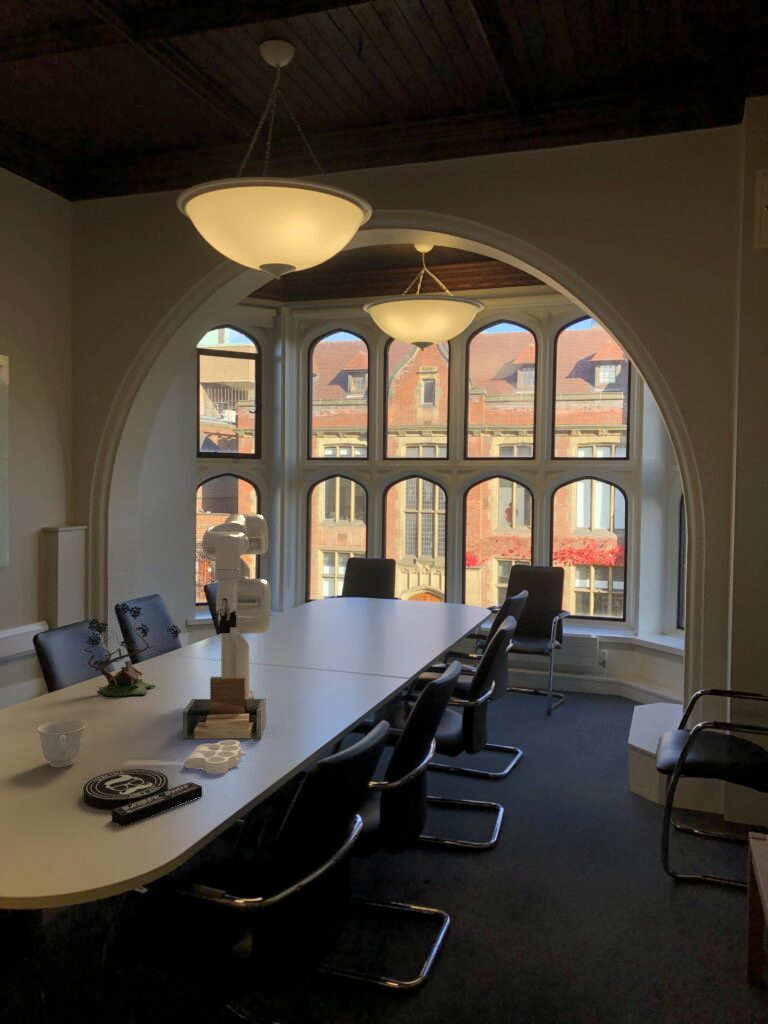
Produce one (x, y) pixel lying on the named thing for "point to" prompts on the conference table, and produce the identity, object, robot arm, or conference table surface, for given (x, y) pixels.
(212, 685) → the wooden plank
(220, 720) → the offcut upper
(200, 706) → the rack
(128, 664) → the bonsai tree
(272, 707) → the conference table surface
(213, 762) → the white brass knuckles
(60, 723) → the teacup
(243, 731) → the offcut lower
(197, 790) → the decorative sign
